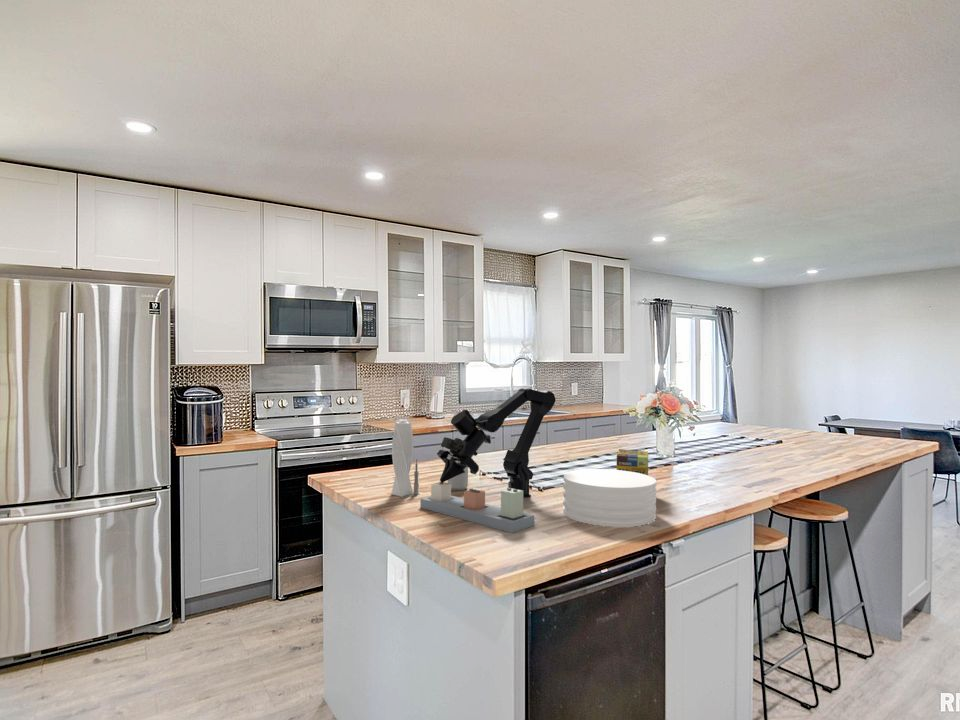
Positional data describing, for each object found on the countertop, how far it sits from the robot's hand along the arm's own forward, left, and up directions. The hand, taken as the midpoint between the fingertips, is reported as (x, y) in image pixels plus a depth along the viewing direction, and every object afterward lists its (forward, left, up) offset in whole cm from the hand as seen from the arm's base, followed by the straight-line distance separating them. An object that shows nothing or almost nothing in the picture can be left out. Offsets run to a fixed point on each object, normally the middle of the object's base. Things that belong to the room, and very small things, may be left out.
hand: (441, 481), depth 174 cm
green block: (-15, +25, -5) cm, 29 cm away
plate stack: (-48, +21, -9) cm, 54 cm away
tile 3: (-7, +13, -8) cm, 16 cm away
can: (-12, -24, -8) cm, 28 cm away
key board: (-7, +13, -8) cm, 17 cm away
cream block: (0, 0, -8) cm, 8 cm away
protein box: (-68, +4, -8) cm, 69 cm away
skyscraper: (+9, -20, -9) cm, 23 cm away
